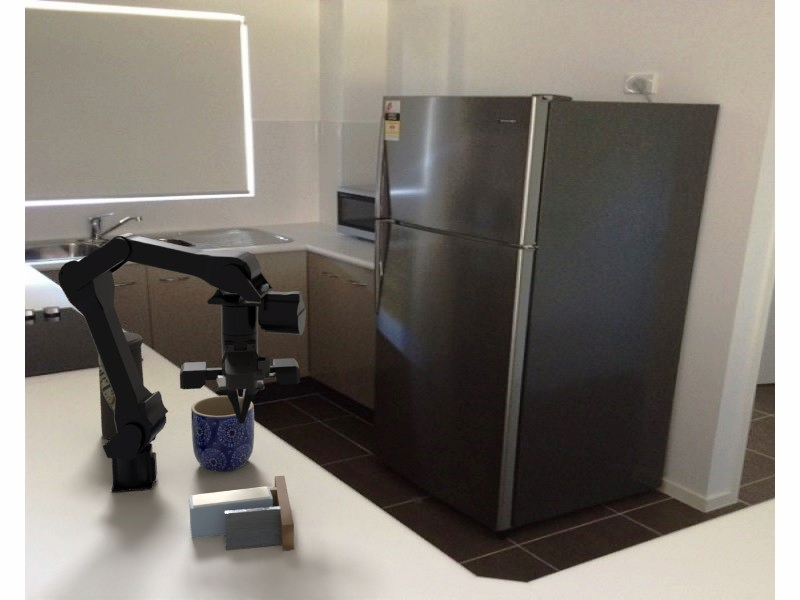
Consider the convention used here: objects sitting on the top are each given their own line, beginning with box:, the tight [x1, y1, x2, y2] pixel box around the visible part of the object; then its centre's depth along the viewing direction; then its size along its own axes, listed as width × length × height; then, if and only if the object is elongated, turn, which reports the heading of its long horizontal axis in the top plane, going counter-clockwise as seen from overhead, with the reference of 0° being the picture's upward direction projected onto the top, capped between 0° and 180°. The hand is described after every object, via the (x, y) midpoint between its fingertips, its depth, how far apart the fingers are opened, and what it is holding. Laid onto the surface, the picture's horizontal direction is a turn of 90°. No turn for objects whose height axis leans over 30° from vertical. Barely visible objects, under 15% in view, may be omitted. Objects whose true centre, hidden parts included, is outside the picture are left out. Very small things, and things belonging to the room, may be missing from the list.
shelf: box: [269, 475, 295, 551], centre depth 116 cm, size 10×16×4 cm, turn 13°
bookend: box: [224, 506, 282, 551], centre depth 111 cm, size 8×3×4 cm, turn 103°
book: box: [188, 486, 273, 539], centre depth 115 cm, size 12×4×5 cm, turn 108°
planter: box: [190, 395, 255, 473], centre depth 136 cm, size 11×11×11 cm
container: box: [97, 331, 145, 440], centre depth 148 cm, size 9×9×20 cm
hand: (241, 423), depth 125 cm, fingers closed
